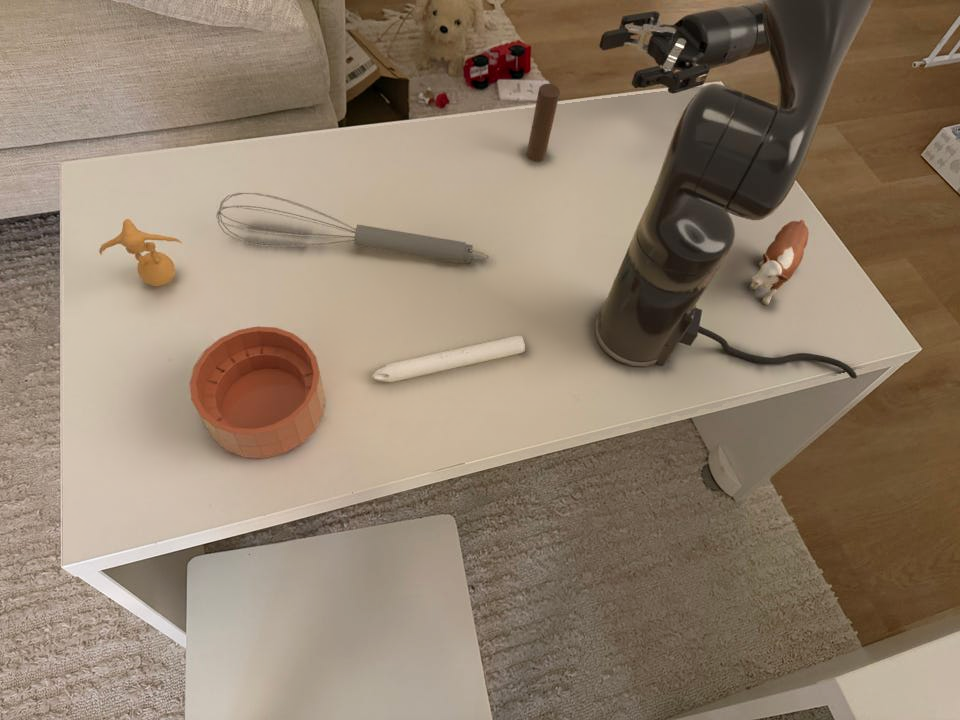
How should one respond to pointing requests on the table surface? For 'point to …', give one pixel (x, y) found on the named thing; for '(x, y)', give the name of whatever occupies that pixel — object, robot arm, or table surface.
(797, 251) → the bull figurine
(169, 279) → the figurine
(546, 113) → the stirring stick
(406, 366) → the marker
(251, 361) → the bowl
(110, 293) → the table surface
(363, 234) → the kitchen whisk
